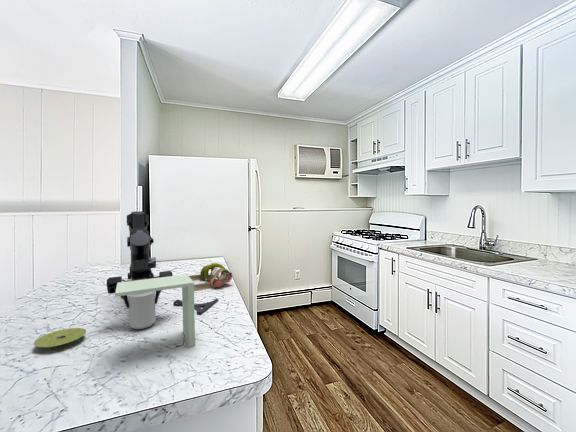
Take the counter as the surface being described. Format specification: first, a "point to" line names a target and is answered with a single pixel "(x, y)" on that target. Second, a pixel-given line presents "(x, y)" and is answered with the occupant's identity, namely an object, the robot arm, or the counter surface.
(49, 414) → the counter surface
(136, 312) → the can
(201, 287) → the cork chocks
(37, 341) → the olive green disc
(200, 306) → the bracket
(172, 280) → the shelf
